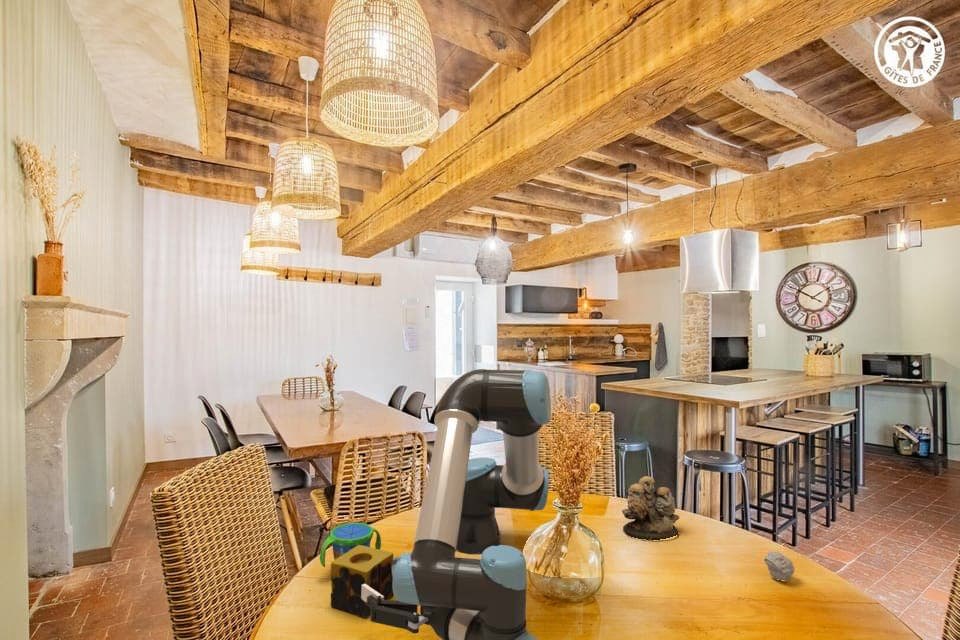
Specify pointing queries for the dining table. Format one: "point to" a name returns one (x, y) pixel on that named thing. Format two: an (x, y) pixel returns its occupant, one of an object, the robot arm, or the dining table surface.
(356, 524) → the snack cup
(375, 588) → the candle
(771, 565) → the grey rounded lump
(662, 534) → the owl figurine
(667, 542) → the dining table surface
